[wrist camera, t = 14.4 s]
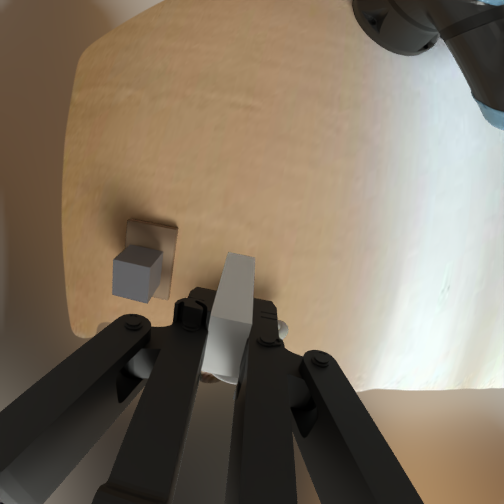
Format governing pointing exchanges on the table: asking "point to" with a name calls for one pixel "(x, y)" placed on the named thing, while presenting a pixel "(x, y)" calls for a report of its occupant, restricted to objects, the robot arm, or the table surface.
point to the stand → (155, 248)
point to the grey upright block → (137, 273)
